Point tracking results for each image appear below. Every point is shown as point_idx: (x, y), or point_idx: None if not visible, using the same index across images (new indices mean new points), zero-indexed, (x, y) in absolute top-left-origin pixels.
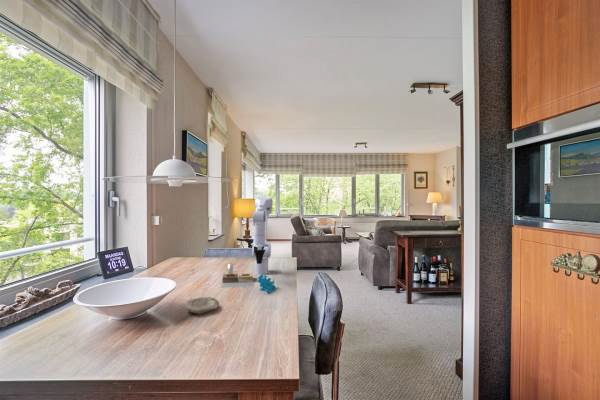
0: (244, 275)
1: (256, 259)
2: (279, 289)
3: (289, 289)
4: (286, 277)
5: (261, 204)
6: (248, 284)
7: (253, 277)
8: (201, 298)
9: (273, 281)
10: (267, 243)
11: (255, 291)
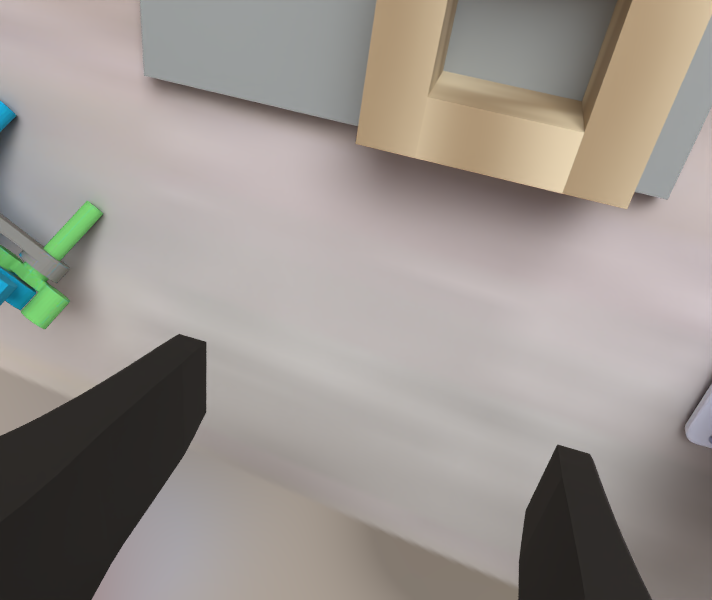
0: (621, 14)
1: (96, 385)
2: (84, 315)
3: (83, 386)
4: (509, 539)
5: None
6: (238, 5)
7: (645, 193)
8: None
9: (25, 314)
10: None
11: (10, 47)
